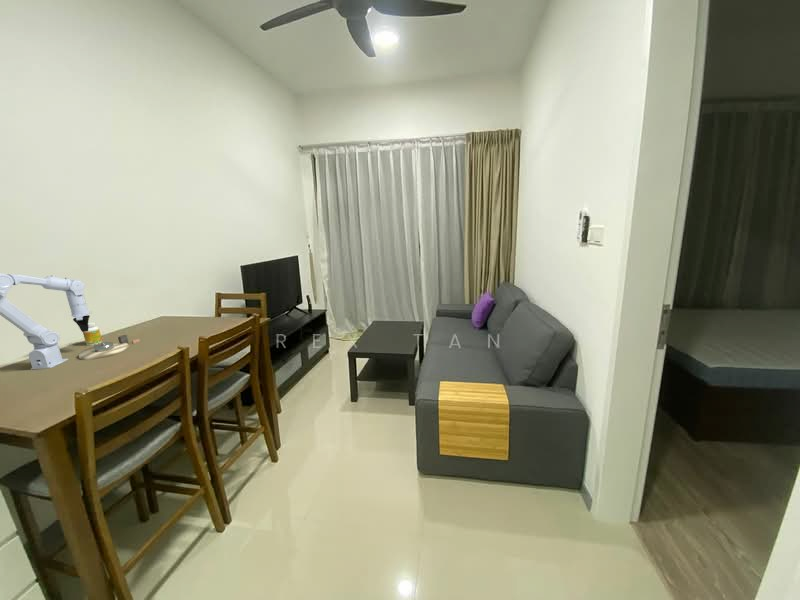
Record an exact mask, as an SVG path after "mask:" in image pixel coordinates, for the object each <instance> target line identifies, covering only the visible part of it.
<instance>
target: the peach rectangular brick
mask: <svg viewBox="0 0 800 600" xmlns="http://www.w3.org/2000/svg"><path fill="white" fill-rule="evenodd" d="M139 341H140V338H137V339H133V340H131V343H132V344H136V342H137V343H140V342H141V341H140V342H139Z"/></svg>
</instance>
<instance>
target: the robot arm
mask: <svg viewBox="0 0 800 600" xmlns="http://www.w3.org/2000/svg"><path fill="white" fill-rule="evenodd" d="M19 284H23V285H33V286H41V287H42V288H44V289H46V290H54V291H62V292H65V295H66V298H67V301H68V302H67V303H68V305H69V309H70V313H71V317H73V319H72V321H73V322H74V323H75V324H76V325H77V326H78V328H79V329H80V331H81V332H82V333H83V332H85V331H88V323H89V321H90V320H89V319H90V316H91V315H90V314H92V313H93V312H92V311H90V310H88V306H87V302H86V299H85V294H84V290H85V287H86V285H85V283H83V282H82V281H81V280H79V279H70V278H69V277H63V278H62V277H57V276H56V275H50V276H45V277H44V278H42V277H36V276H30V275H24V274H19V273H0V316H1V317H2V318H3V319H5V320H7V321H8V322H9V323H10V324H12V325H13V326H15V328H18V329H19V330H20V331H22V332H23V336H24V337H25V338H26V340H27V341H28V343H29V344H31V345H32V346H33V350H32V351H30V352H29V354H28V358H29V361H30V364H31V368H30V370H32V369H33V370H42V369H51V368H53V367H56V366H57V365H59V364H62V363H64V362H66V361H68V360H69V358H63V356H62V353H61V349H60V346H59V341H60V339H61V337H60V334H59V333H58V332H56V331H55V330H54V331H53V330H50V329H49V328H47V327H46V326H42V325H40V324H39V323H38V322H36V321H35V320H33V318H31V317H30V316H29V315H28V314H26V313H25V312H23V311H22V310H21V309H19V308H18V307H17V306H16V305H14V304H13V303H12V302H10V301H9V300H8V299H6V298H7V297H6V296H7V294H8V293H9V291H10V290H11V289H12V288H13V286H17V285H19Z"/></svg>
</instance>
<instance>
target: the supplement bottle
mask: <svg viewBox="0 0 800 600" xmlns="http://www.w3.org/2000/svg"><path fill="white" fill-rule="evenodd" d="M96 325H97V324H96V322H94V321H92V322H88V331H85V332H82V333H83V334H82V335H83V338H84V341H85V345H86V346H88V345H90V346H95V345H94V344H96V345H97V344H98V343H101V342H102V343H103V339H102V336H101V332H100V328H99V327H98V326H96Z"/></svg>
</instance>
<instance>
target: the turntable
mask: <svg viewBox="0 0 800 600" xmlns="http://www.w3.org/2000/svg"><path fill="white" fill-rule="evenodd" d="M128 338H129V337H128V335H127V334H123V335H120V336H119V335H118V336H117V340H118V342H113V345H114V348H113V349H111V350H108V351H103V352H95V350H94V346H93V347H90V348H88V349H85V350H83V351H81V352H79V353H78V358H79V359H80V360H85V361H86V360H98V359H105V358H107V357H108V358H109V357H111V356H115V355H118V354H120V353H123V352H126V351H127V350H128V349H129V344H130V343H129V339H128Z"/></svg>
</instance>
